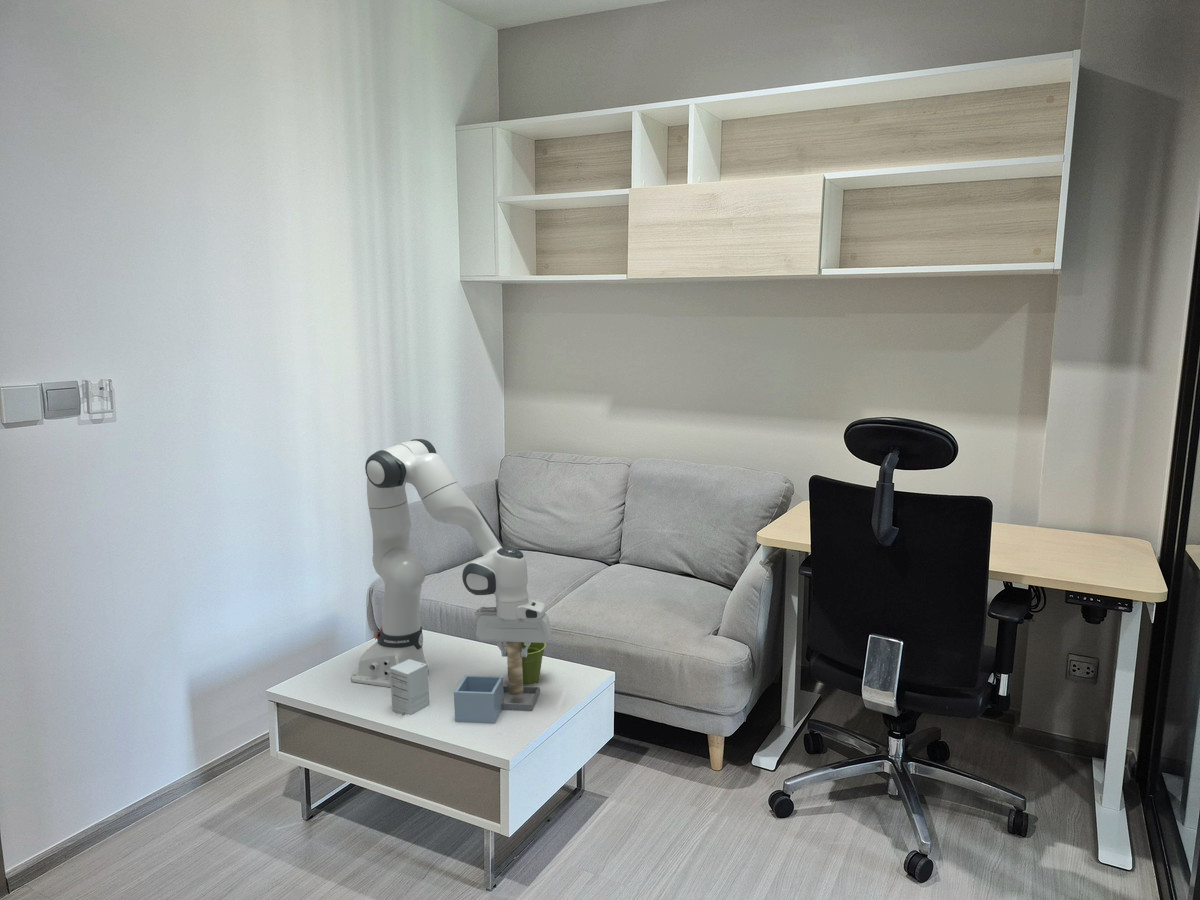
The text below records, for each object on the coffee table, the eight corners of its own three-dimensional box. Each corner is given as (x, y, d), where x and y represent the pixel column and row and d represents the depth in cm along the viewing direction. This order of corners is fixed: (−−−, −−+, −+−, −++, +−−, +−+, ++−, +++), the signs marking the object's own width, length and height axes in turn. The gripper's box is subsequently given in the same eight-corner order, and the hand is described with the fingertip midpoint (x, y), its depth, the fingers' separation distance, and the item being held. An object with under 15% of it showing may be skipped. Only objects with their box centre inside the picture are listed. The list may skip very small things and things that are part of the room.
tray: (491, 712, 226) (490, 703, 226) (501, 693, 237) (500, 685, 237) (531, 713, 225) (531, 705, 224) (540, 695, 236) (539, 687, 235)
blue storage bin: (455, 724, 220) (453, 692, 218) (466, 706, 230) (465, 675, 229) (494, 726, 218) (493, 693, 217) (504, 707, 229) (503, 676, 227)
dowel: (507, 694, 229) (504, 642, 226) (510, 688, 233) (508, 636, 230) (521, 695, 228) (519, 643, 226) (524, 688, 232) (522, 637, 230)
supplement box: (411, 701, 234) (409, 658, 232) (430, 707, 230) (428, 664, 228) (391, 711, 228) (388, 667, 226) (410, 718, 224) (407, 673, 222)
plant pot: (498, 686, 242) (497, 649, 241) (521, 670, 253) (519, 635, 251) (533, 694, 237) (531, 656, 235) (554, 678, 247) (553, 641, 245)
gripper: (471, 611, 225) (474, 659, 227) (546, 612, 222) (548, 661, 224) (478, 602, 231) (480, 650, 233) (551, 604, 228) (552, 652, 231)
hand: (514, 656), depth 229 cm, fingers closed on dowel, 4 cm apart
